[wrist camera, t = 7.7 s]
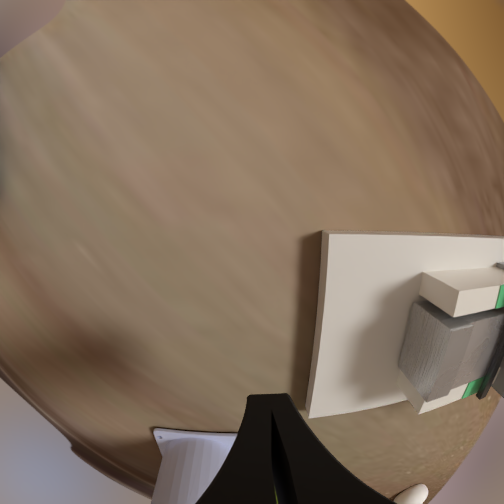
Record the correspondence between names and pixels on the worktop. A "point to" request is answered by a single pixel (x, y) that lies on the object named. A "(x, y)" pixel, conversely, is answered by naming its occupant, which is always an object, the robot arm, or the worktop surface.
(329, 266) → the architectural block model
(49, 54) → the worktop surface
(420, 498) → the garlic bulb
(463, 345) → the grey block with bar
